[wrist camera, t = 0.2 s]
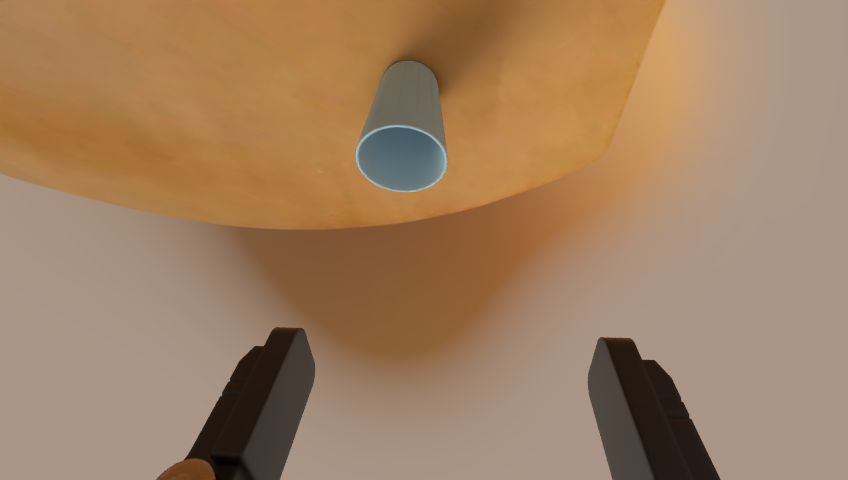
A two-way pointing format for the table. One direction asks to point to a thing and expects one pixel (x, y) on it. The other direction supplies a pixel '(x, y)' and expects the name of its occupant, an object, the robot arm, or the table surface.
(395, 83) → the cup
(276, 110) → the table surface
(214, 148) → the table surface
